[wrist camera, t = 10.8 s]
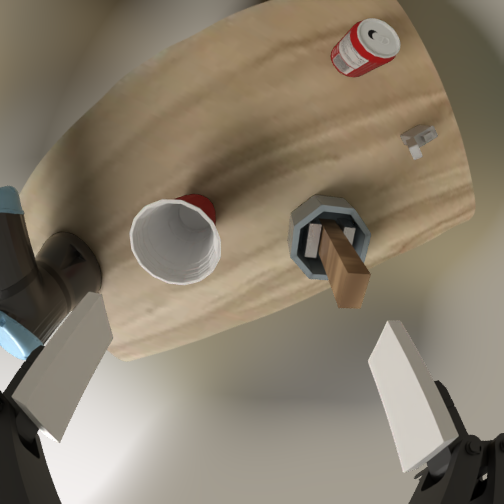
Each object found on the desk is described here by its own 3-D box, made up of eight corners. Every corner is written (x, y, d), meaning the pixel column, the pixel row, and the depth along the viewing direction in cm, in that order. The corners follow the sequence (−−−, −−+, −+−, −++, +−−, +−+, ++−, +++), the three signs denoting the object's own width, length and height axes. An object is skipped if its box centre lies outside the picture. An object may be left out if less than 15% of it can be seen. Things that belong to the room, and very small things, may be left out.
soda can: (372, 57, 28) (410, 36, 17) (357, 84, 30) (393, 69, 20) (339, 37, 27) (366, 6, 16) (323, 64, 30) (347, 39, 19)
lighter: (418, 124, 32) (448, 126, 24) (423, 134, 32) (453, 138, 25) (385, 143, 34) (410, 148, 26) (390, 154, 34) (416, 161, 27)
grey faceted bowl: (285, 259, 42) (287, 277, 37) (293, 192, 38) (297, 202, 33) (349, 264, 42) (358, 282, 37) (362, 200, 38) (375, 211, 33)
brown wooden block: (314, 243, 40) (338, 307, 26) (318, 218, 39) (347, 273, 24) (329, 244, 40) (360, 308, 26) (334, 219, 39) (370, 274, 24)
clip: (301, 244, 41) (304, 256, 37) (305, 214, 38) (309, 223, 35) (341, 248, 40) (348, 260, 37) (347, 218, 38) (355, 228, 35)
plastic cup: (187, 257, 43) (164, 300, 32) (150, 201, 39) (112, 229, 28) (246, 227, 40) (239, 266, 30) (209, 164, 37) (185, 179, 26)
